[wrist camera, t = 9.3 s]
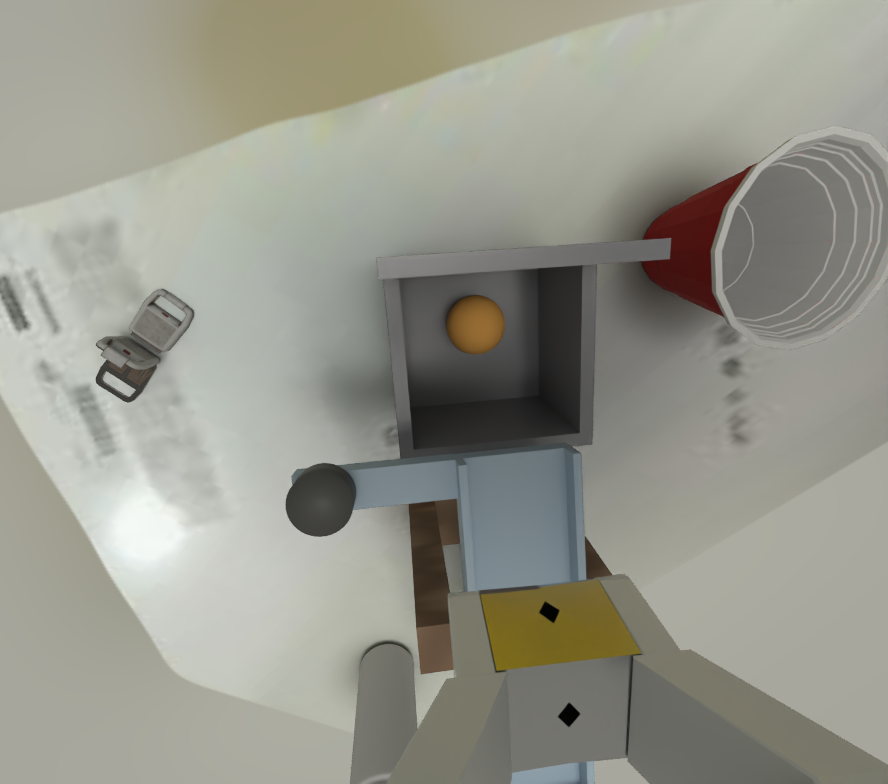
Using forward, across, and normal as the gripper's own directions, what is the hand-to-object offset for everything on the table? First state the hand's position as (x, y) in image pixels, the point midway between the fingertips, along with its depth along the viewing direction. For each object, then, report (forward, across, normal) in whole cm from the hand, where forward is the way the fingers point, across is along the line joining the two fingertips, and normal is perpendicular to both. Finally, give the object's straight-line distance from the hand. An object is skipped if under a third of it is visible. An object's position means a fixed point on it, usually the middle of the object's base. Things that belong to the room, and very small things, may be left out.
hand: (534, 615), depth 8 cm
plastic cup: (+29, -18, -5) cm, 35 cm away
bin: (+28, -2, 0) cm, 28 cm away
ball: (+25, -3, -1) cm, 25 cm away
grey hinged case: (+28, +20, -1) cm, 35 cm away
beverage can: (+28, +7, +29) cm, 41 cm away
